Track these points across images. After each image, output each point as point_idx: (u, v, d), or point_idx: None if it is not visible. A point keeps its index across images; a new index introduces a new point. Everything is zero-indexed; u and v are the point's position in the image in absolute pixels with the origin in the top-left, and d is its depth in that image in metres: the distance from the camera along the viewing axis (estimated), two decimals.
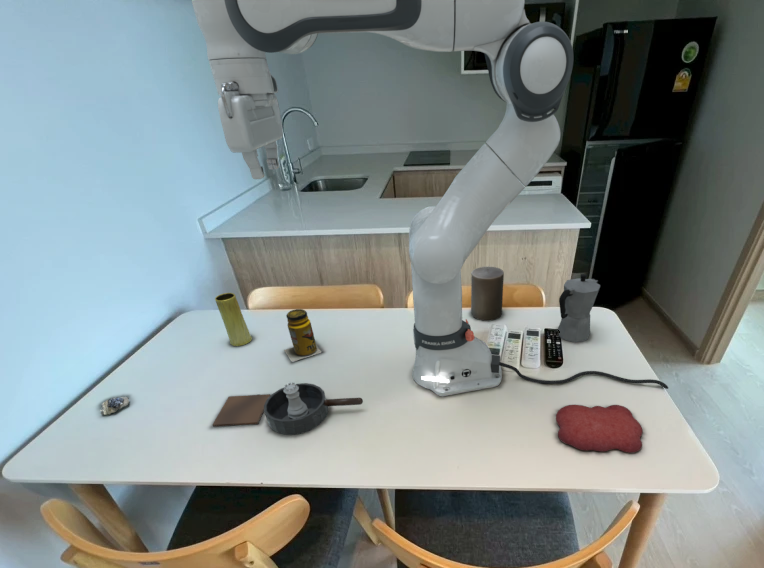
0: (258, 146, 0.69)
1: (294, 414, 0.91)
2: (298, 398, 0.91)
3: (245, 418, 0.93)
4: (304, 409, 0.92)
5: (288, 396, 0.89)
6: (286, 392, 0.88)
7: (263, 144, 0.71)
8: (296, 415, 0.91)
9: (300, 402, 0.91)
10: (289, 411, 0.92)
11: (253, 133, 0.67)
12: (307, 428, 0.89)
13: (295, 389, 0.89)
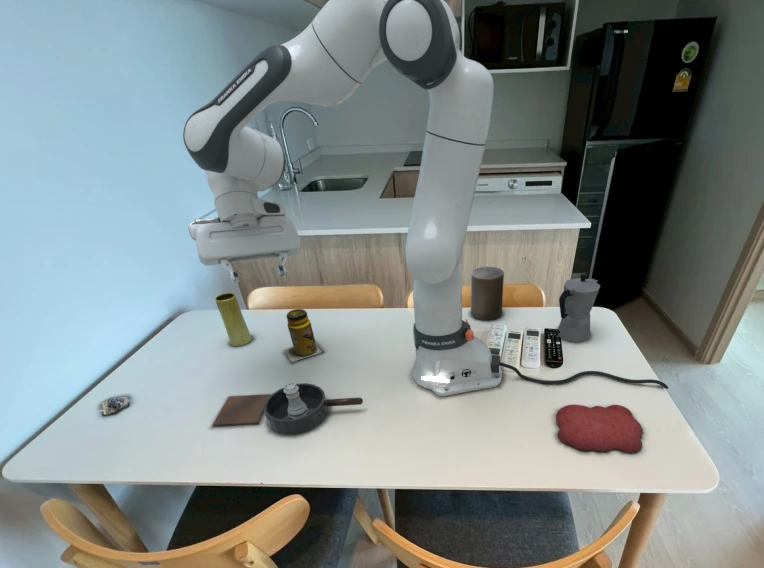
0: (222, 255, 0.82)
1: (294, 414, 0.91)
2: (298, 398, 0.91)
3: (245, 418, 0.93)
4: (304, 409, 0.92)
5: (288, 396, 0.89)
6: (286, 392, 0.88)
7: (237, 253, 0.83)
8: (296, 415, 0.91)
9: (300, 402, 0.91)
10: (289, 411, 0.92)
11: (213, 246, 0.82)
12: (307, 428, 0.89)
13: (295, 389, 0.89)
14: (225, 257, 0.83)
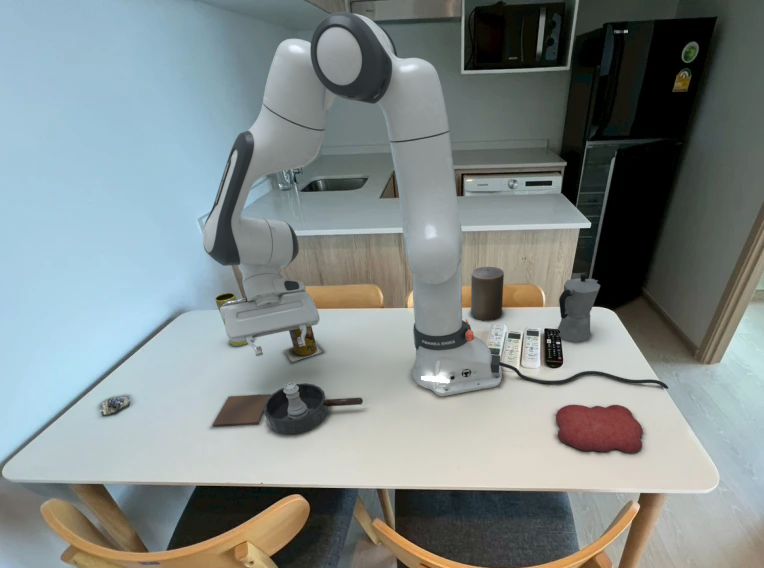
0: (247, 333, 0.91)
1: (294, 414, 0.91)
2: (298, 398, 0.91)
3: (245, 418, 0.93)
4: (304, 409, 0.92)
5: (288, 396, 0.89)
6: (286, 392, 0.88)
7: (260, 330, 0.92)
8: (296, 415, 0.91)
9: (300, 402, 0.91)
10: (289, 411, 0.92)
11: (239, 326, 0.91)
12: (307, 428, 0.89)
13: (295, 389, 0.89)
14: (249, 334, 0.91)
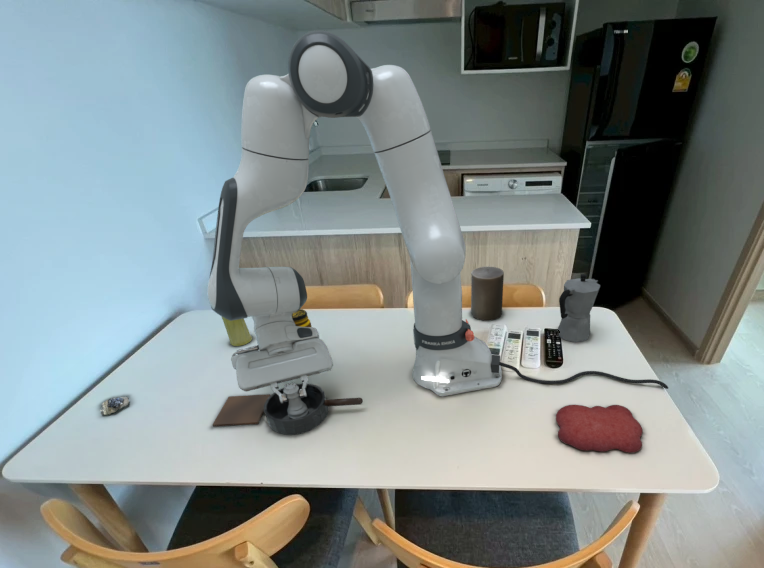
0: (259, 383, 0.88)
1: (294, 414, 0.91)
2: (298, 398, 0.91)
3: (245, 418, 0.93)
4: (304, 409, 0.92)
5: (288, 396, 0.89)
6: (286, 392, 0.88)
7: (272, 380, 0.89)
8: (296, 415, 0.91)
9: (300, 402, 0.91)
10: (289, 411, 0.92)
11: (251, 376, 0.88)
12: (307, 428, 0.89)
13: (295, 389, 0.89)
14: (262, 384, 0.88)
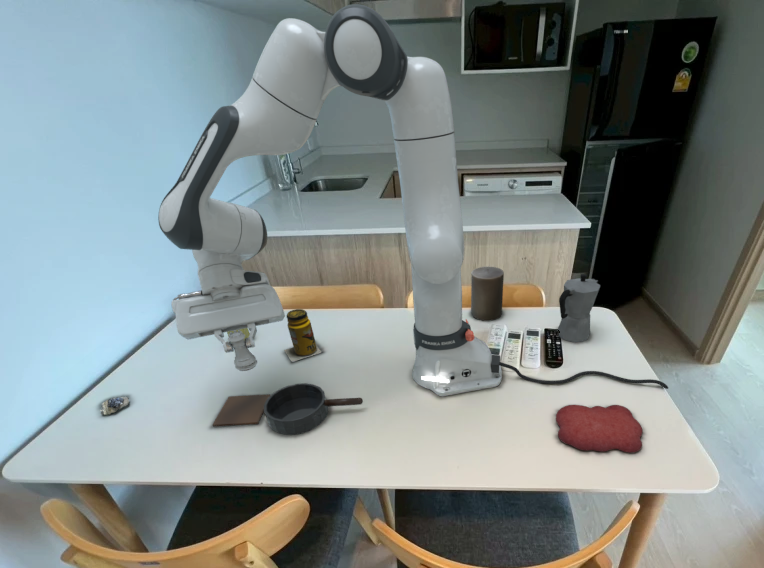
0: (201, 329, 0.81)
1: (241, 365, 0.85)
2: (245, 347, 0.84)
3: (245, 418, 0.93)
4: (252, 360, 0.86)
5: (233, 344, 0.83)
6: (230, 340, 0.82)
7: (216, 326, 0.82)
8: (243, 366, 0.85)
9: (247, 352, 0.85)
10: (235, 362, 0.85)
11: (192, 321, 0.81)
12: (307, 428, 0.89)
13: (240, 337, 0.82)
14: (204, 331, 0.82)
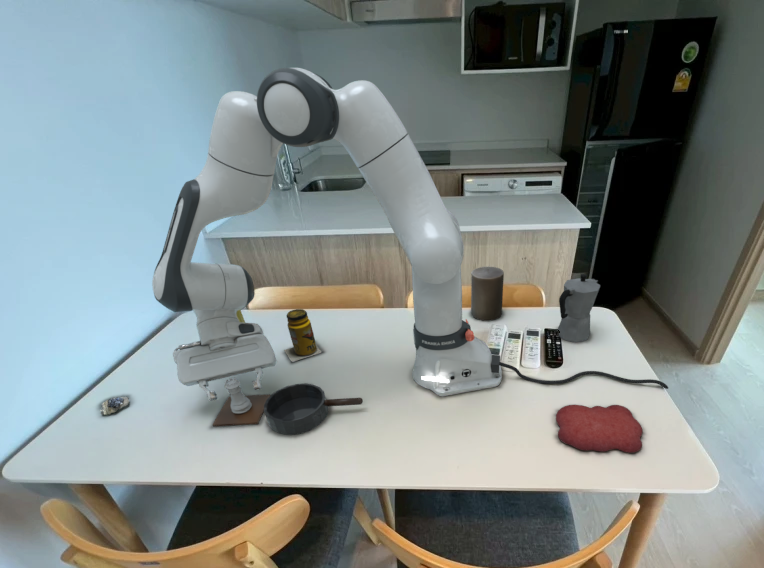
0: (199, 378, 0.89)
1: (236, 409, 0.93)
2: (240, 393, 0.92)
3: (245, 418, 0.93)
4: (247, 404, 0.94)
5: (229, 391, 0.91)
6: (227, 387, 0.90)
7: (213, 375, 0.90)
8: (238, 410, 0.93)
9: (242, 397, 0.93)
10: (231, 406, 0.93)
11: (192, 371, 0.89)
12: (307, 428, 0.89)
13: (236, 384, 0.91)
14: (202, 379, 0.90)
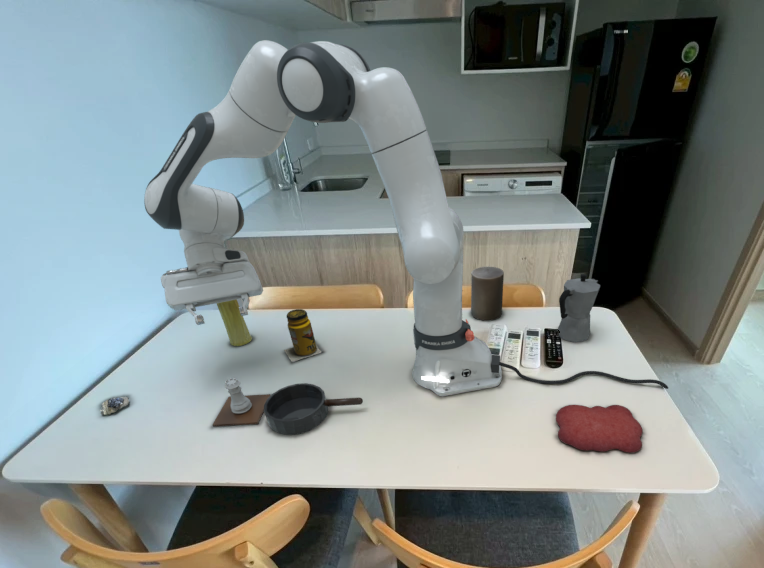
0: (187, 301, 0.92)
1: (236, 409, 0.93)
2: (240, 393, 0.92)
3: (245, 418, 0.93)
4: (247, 404, 0.94)
5: (229, 391, 0.91)
6: (227, 387, 0.90)
7: (200, 298, 0.92)
8: (238, 410, 0.93)
9: (242, 397, 0.93)
10: (231, 406, 0.93)
11: (179, 294, 0.91)
12: (307, 428, 0.89)
13: (236, 384, 0.91)
14: (190, 302, 0.92)
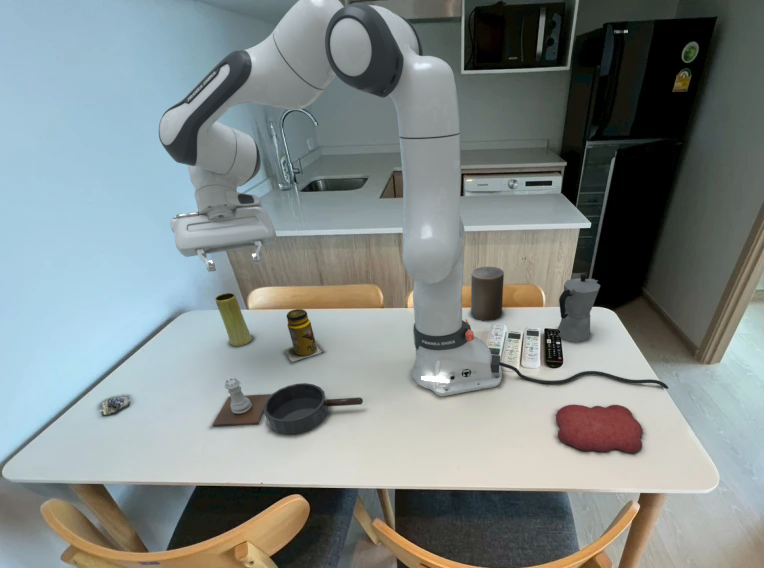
0: (198, 245, 0.87)
1: (236, 409, 0.93)
2: (240, 393, 0.92)
3: (245, 418, 0.93)
4: (247, 404, 0.94)
5: (229, 391, 0.91)
6: (227, 387, 0.90)
7: (212, 243, 0.88)
8: (238, 410, 0.93)
9: (242, 397, 0.93)
10: (231, 406, 0.93)
11: (190, 238, 0.87)
12: (307, 428, 0.89)
13: (236, 384, 0.91)
14: (201, 247, 0.87)
